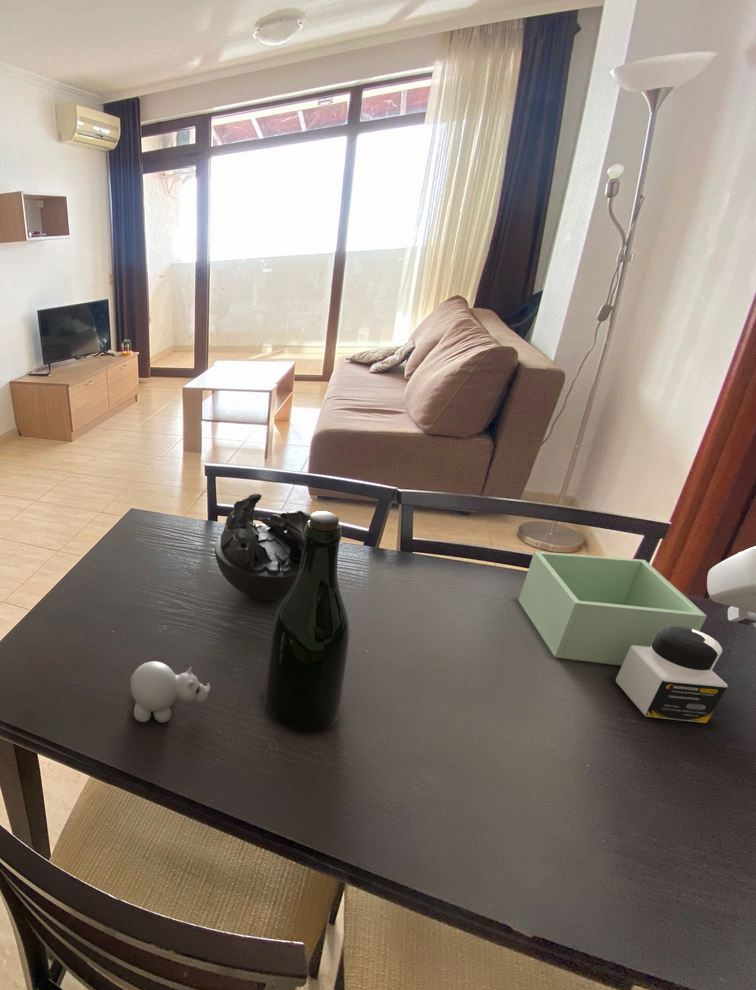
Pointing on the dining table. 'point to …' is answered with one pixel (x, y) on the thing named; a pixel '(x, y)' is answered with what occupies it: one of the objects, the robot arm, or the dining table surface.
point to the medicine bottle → (674, 675)
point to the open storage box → (601, 605)
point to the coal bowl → (261, 550)
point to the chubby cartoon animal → (163, 690)
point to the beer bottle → (310, 636)
